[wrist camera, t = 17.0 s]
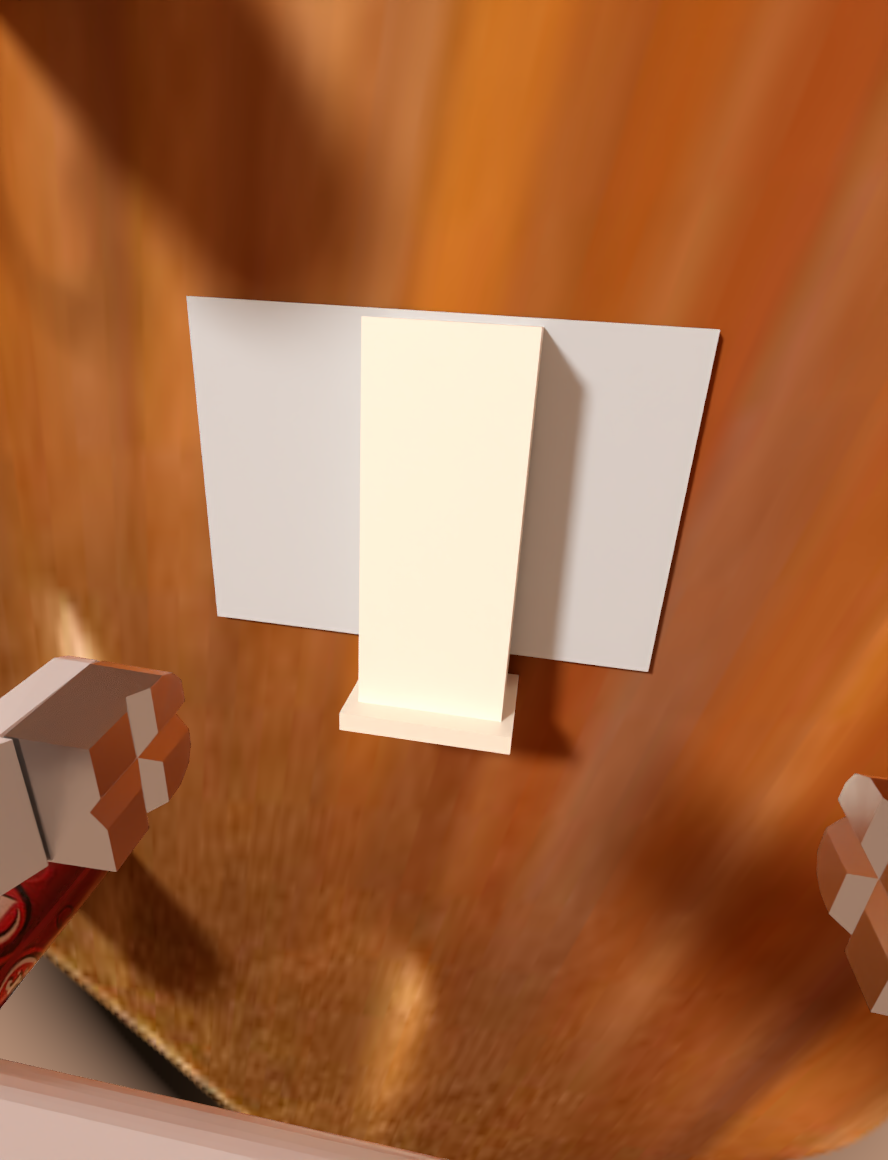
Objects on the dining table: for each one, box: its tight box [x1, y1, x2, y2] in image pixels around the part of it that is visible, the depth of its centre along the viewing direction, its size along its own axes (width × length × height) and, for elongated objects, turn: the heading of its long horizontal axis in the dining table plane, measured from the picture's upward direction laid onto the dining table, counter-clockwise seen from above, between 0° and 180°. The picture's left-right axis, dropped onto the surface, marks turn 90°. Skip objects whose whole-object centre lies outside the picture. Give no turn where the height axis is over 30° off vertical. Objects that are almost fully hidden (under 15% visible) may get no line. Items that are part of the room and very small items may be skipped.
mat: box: [186, 296, 720, 672], centre depth 27 cm, size 20×14×1 cm
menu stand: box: [340, 316, 544, 755], centre depth 26 cm, size 5×7×16 cm
